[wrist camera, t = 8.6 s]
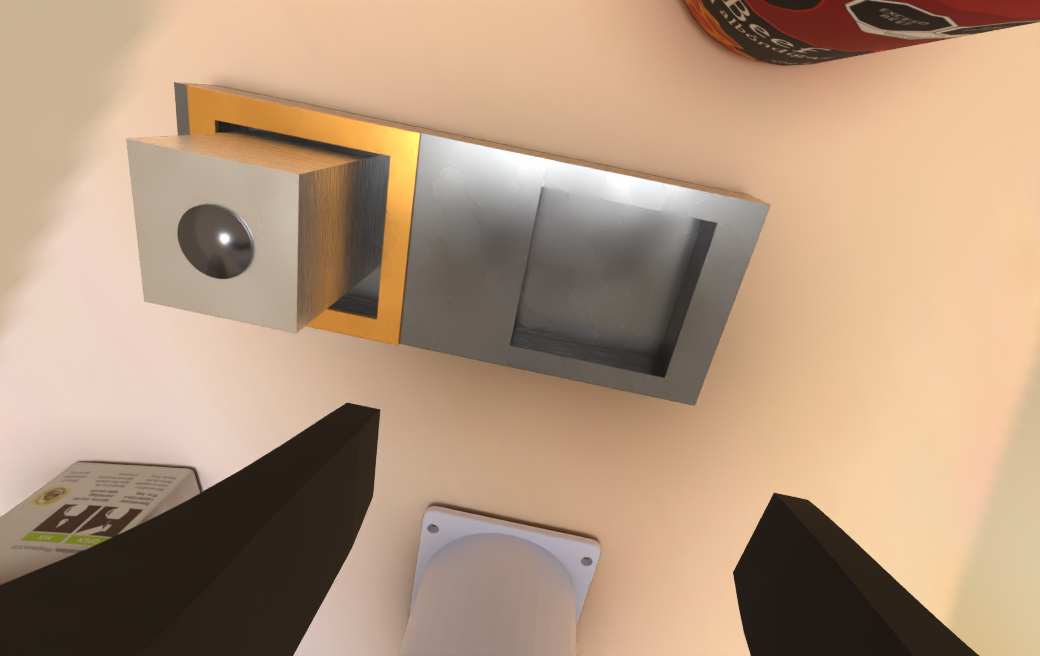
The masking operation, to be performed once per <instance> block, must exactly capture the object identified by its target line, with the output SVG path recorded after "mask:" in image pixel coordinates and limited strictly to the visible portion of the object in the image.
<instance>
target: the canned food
mask: <svg viewBox="0 0 1040 656" xmlns="http://www.w3.org/2000/svg"><path fill="white" fill-rule="evenodd" d="M685 2H686V3H687V5H688V7H689V9H690V11H691V13H692V15H693V16H694V17H695V18H696V19H697V21H698V22H699V23H700V24H701V25H702V26H703V28H704V29H705V30H706V31H707V32H708V33H709V35H710V36H712V37H713V38H714V39H716V40H717V41H719V42H720V43H721V44H723V45H724V46H726V47H727V48H728V49H730V50H731V51H733V52H736V53H738V54H740V55H743V56H745V57H748V58H750V59H753V60H755V61H759V62H765V63H771V64H777V65H804V64H815V63H821V62H826V61H832V60H837V59H842V58H848V57H853V56H858V55H864V54H869V53H875V52H880V51H885V50H891V49H896V48H902V47H907V46H912V45H918V44H923V43H929V42H934V41H939V40H945V39H950V38H956V37H961V36H966V35H972V34H977V33H983V32H988V31H993V30H999V29H1004V28H1010V27H1015V26H1020V25H1026V24H1031V23H1036V22H1040V0H685Z"/></svg>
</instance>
